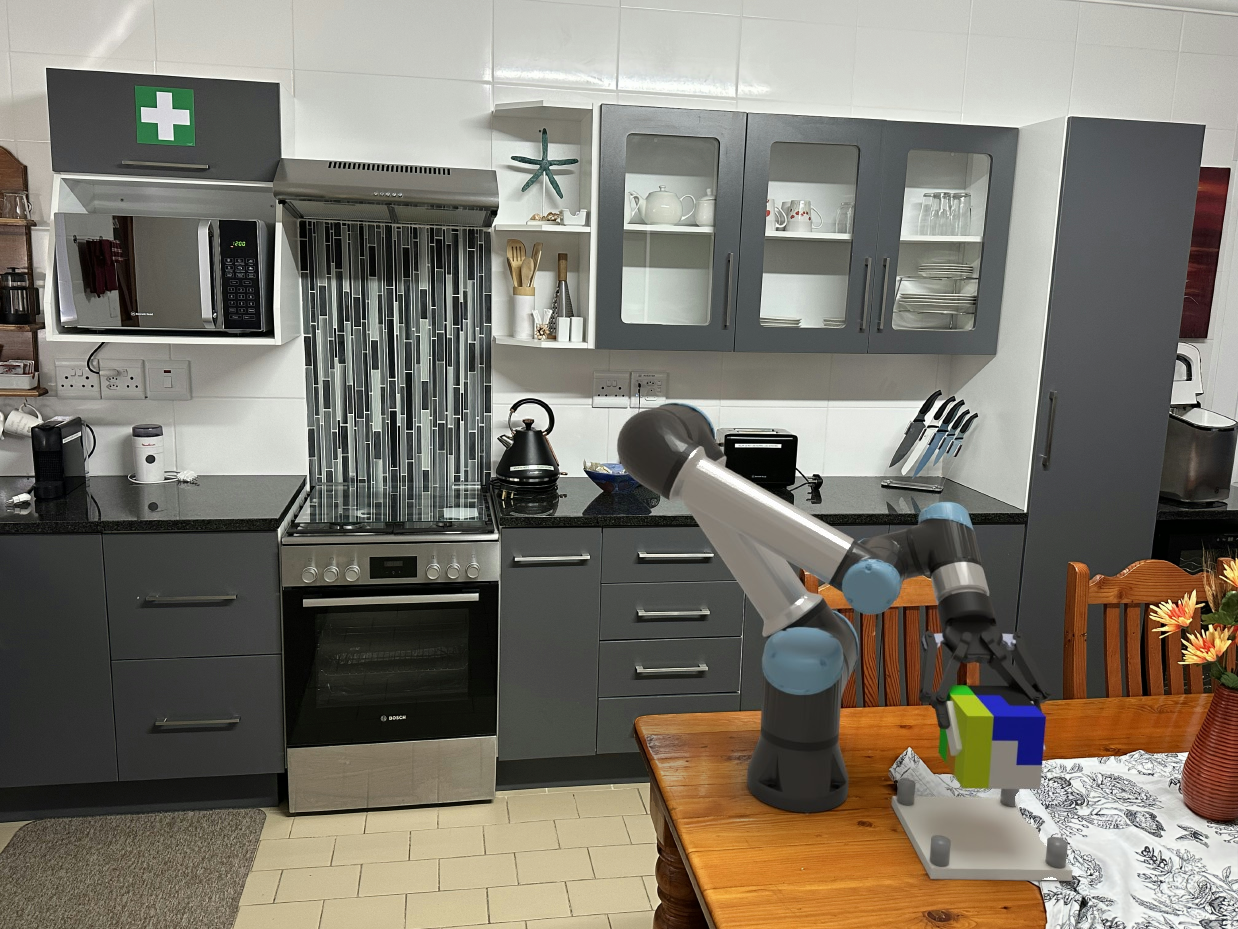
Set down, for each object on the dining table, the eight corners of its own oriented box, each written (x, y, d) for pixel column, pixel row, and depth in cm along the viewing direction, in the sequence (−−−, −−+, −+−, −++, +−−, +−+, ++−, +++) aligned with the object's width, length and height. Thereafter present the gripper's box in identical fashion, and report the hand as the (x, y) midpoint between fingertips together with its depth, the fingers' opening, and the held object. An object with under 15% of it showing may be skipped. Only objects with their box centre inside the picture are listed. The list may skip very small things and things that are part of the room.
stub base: (930, 879, 121) (933, 846, 120) (891, 805, 139) (893, 777, 138) (1071, 881, 121) (1074, 848, 120) (1014, 807, 139) (1016, 778, 138)
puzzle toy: (1040, 789, 123) (1046, 716, 121) (962, 788, 123) (967, 716, 121) (1010, 753, 133) (1015, 685, 131) (938, 752, 133) (942, 685, 131)
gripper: (1032, 612, 140) (1073, 762, 127) (879, 612, 140) (904, 761, 127) (1050, 588, 134) (1095, 743, 121) (890, 588, 134) (918, 742, 121)
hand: (997, 752), depth 124 cm, fingers closed on puzzle toy, 10 cm apart
